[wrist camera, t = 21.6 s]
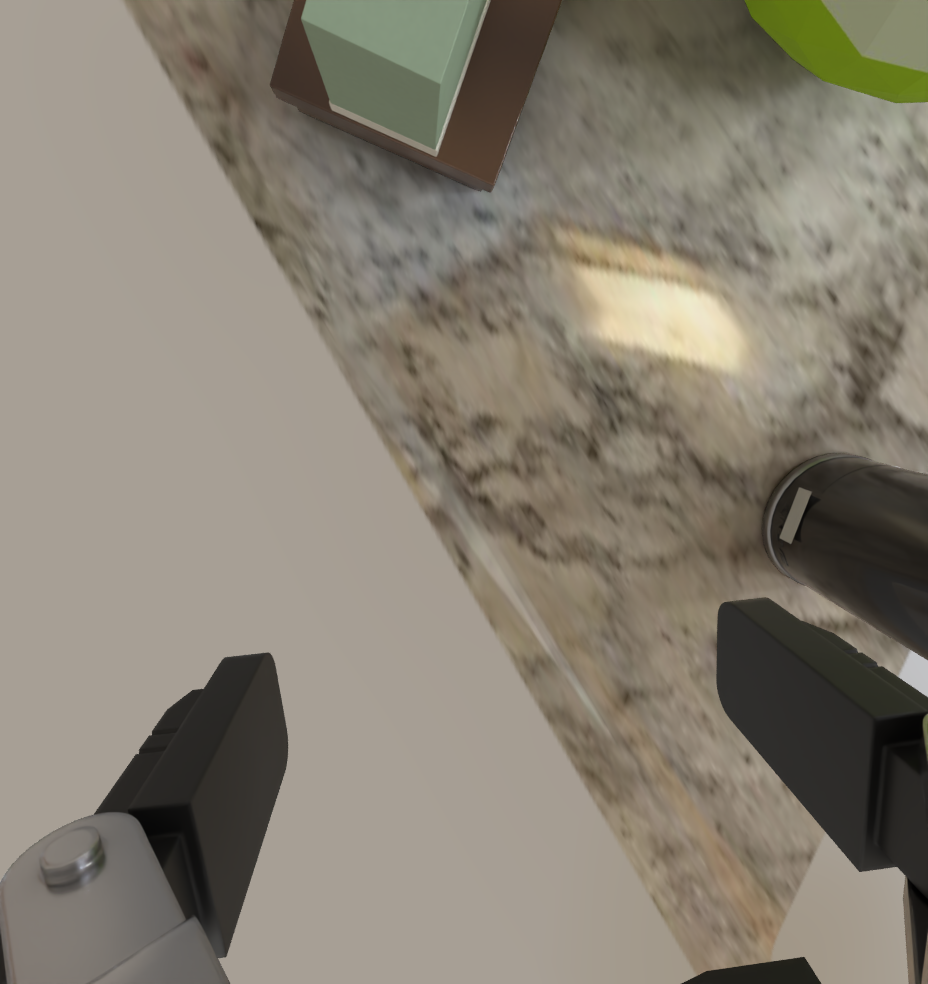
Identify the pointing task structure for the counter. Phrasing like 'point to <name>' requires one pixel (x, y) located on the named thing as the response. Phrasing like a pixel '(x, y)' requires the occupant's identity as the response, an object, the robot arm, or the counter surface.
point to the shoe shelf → (479, 105)
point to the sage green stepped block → (395, 61)
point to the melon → (854, 42)
